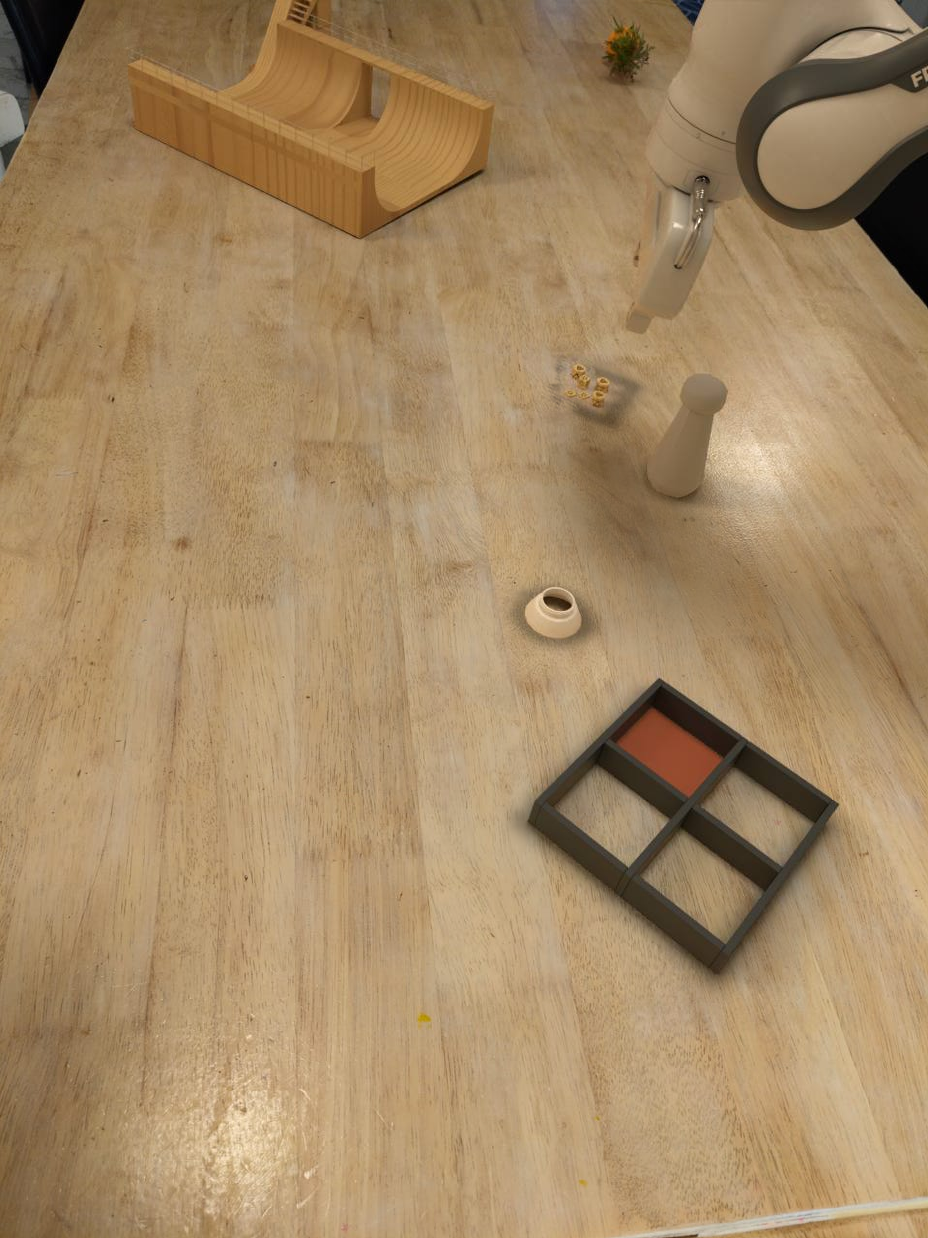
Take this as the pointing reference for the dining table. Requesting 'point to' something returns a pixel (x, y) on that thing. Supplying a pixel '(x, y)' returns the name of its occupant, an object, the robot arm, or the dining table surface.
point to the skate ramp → (321, 124)
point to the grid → (680, 807)
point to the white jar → (553, 615)
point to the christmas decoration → (626, 49)
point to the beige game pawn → (687, 438)
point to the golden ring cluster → (584, 382)
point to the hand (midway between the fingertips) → (637, 294)
